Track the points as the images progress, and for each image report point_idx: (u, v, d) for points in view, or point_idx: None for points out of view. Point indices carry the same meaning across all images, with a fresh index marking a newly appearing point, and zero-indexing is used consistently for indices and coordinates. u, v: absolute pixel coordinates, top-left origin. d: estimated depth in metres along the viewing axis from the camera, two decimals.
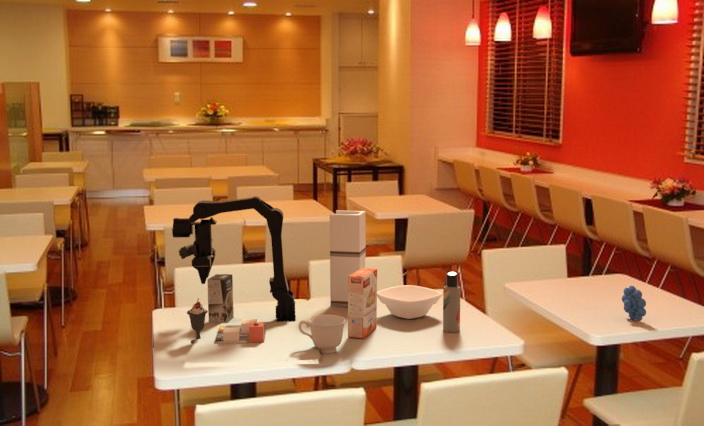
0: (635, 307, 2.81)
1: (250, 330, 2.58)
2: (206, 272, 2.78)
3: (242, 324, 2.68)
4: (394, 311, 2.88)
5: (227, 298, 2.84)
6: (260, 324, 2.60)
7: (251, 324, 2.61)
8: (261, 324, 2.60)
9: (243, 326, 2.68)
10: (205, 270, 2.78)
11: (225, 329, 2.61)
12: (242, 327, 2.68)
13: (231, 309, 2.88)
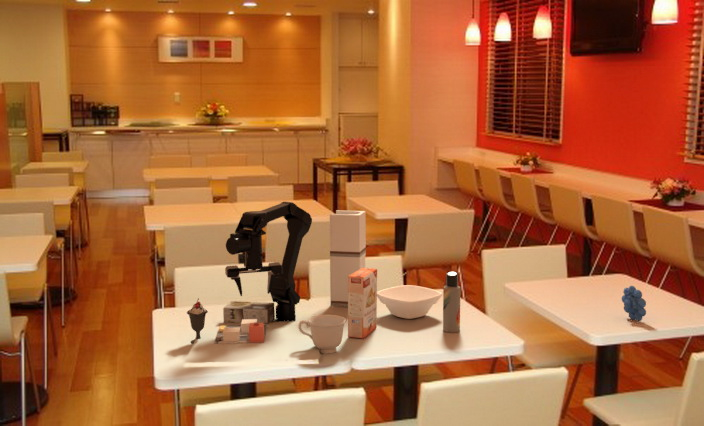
0: (635, 307, 2.81)
1: (250, 330, 2.58)
2: (237, 284, 2.70)
3: (242, 324, 2.68)
4: (394, 311, 2.88)
5: None
6: (260, 324, 2.60)
7: (251, 324, 2.61)
8: (261, 324, 2.60)
9: (243, 326, 2.68)
10: None
11: (225, 329, 2.61)
12: (242, 327, 2.68)
13: None
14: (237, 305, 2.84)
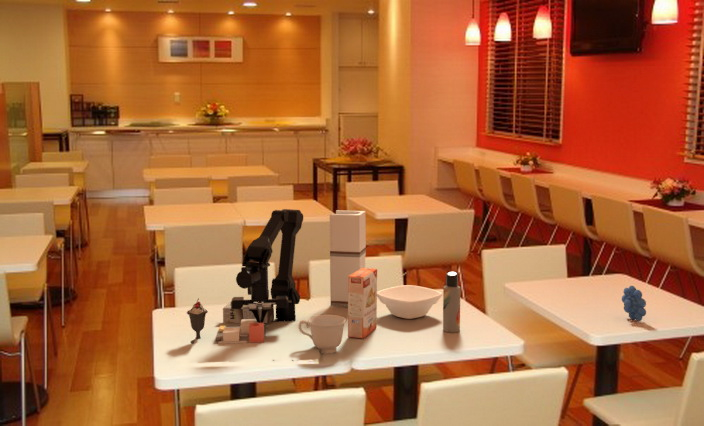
0: (635, 307, 2.81)
1: (250, 330, 2.58)
2: None
3: (241, 324, 2.68)
4: (394, 311, 2.88)
5: None
6: (260, 324, 2.60)
7: (251, 324, 2.61)
8: (261, 324, 2.60)
9: (242, 326, 2.68)
10: None
11: (225, 329, 2.61)
12: (241, 327, 2.68)
13: None
14: None
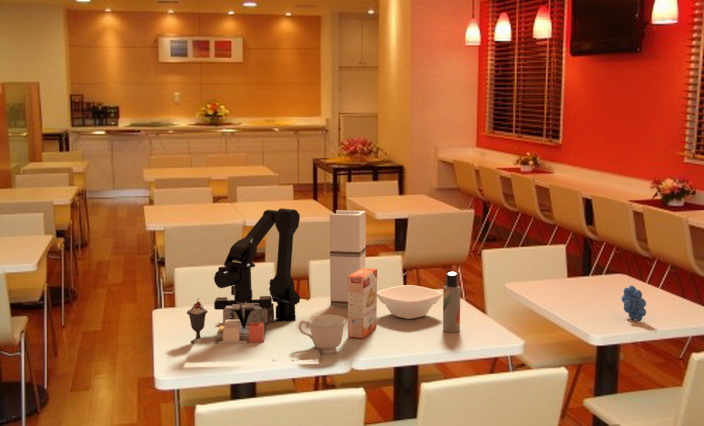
0: (635, 307, 2.81)
1: (250, 330, 2.58)
2: None
3: (225, 324, 2.67)
4: (394, 311, 2.88)
5: None
6: (260, 324, 2.60)
7: (251, 324, 2.61)
8: (261, 324, 2.60)
9: (226, 326, 2.67)
10: None
11: (225, 329, 2.61)
12: (225, 327, 2.67)
13: None
14: None
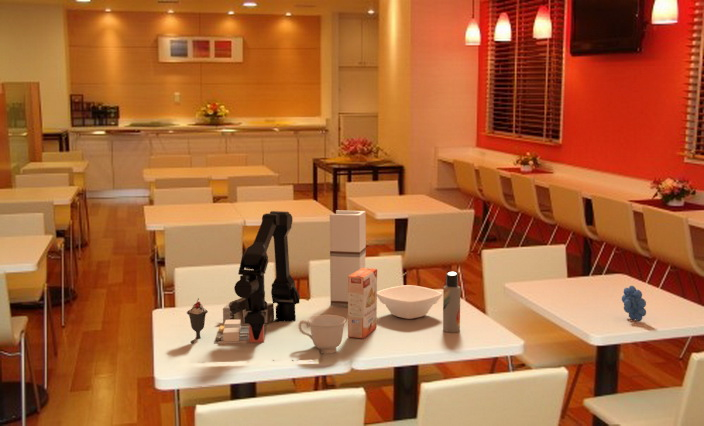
0: (635, 307, 2.81)
1: (250, 330, 2.58)
2: (259, 327, 2.56)
3: (225, 324, 2.67)
4: (394, 311, 2.88)
5: None
6: None
7: None
8: None
9: (226, 326, 2.67)
10: (259, 325, 2.56)
11: (225, 329, 2.61)
12: (225, 327, 2.67)
13: None
14: None
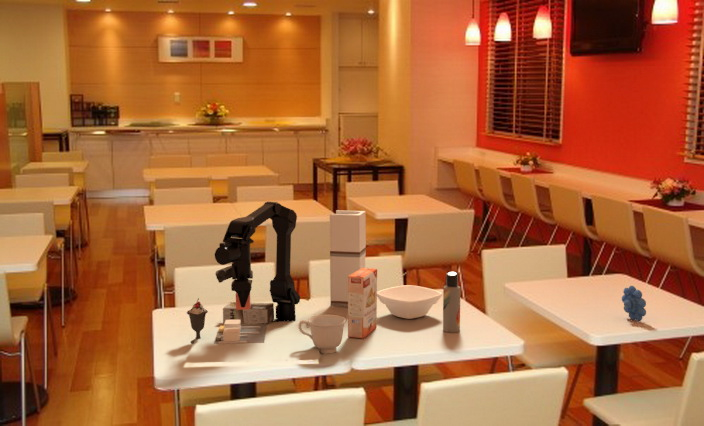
0: (635, 307, 2.81)
1: (237, 298, 2.62)
2: (246, 295, 2.61)
3: (225, 324, 2.67)
4: (394, 311, 2.88)
5: None
6: None
7: None
8: None
9: (226, 326, 2.67)
10: (245, 293, 2.60)
11: (225, 329, 2.61)
12: (225, 327, 2.67)
13: None
14: None
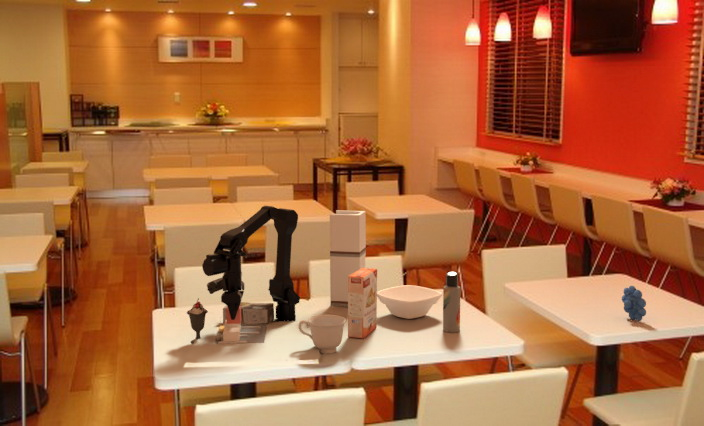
0: (635, 307, 2.81)
1: (227, 312, 2.67)
2: (236, 307, 2.64)
3: (225, 324, 2.67)
4: (394, 311, 2.88)
5: None
6: None
7: None
8: None
9: (226, 326, 2.67)
10: (235, 305, 2.64)
11: (225, 329, 2.61)
12: (225, 327, 2.67)
13: None
14: None
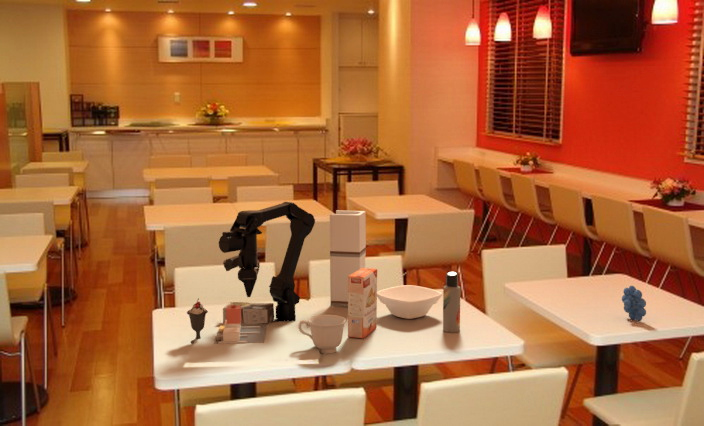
0: (635, 307, 2.81)
1: (227, 312, 2.67)
2: (252, 285, 2.68)
3: (225, 324, 2.67)
4: (394, 311, 2.88)
5: None
6: (237, 306, 2.69)
7: (228, 306, 2.70)
8: (238, 306, 2.69)
9: (226, 326, 2.67)
10: (251, 283, 2.68)
11: (225, 329, 2.61)
12: (225, 327, 2.67)
13: None
14: None
